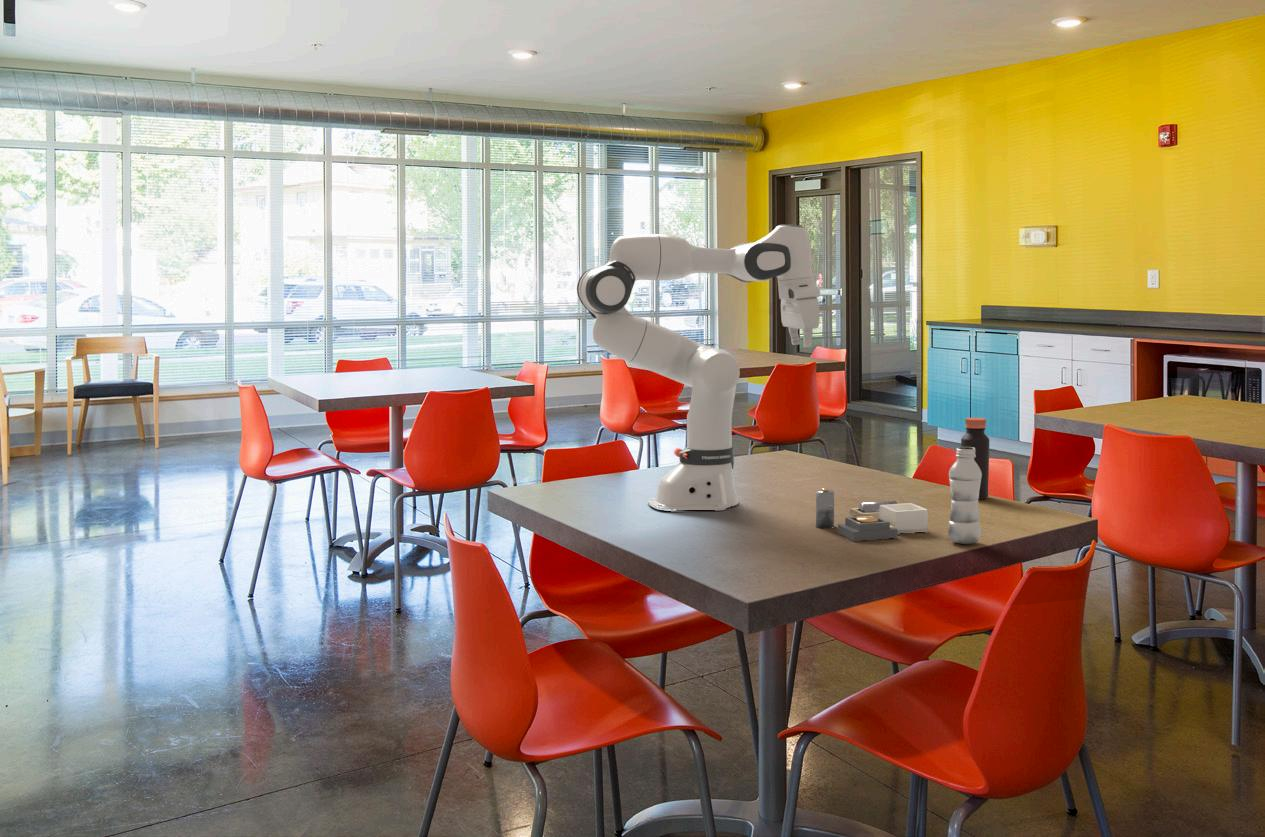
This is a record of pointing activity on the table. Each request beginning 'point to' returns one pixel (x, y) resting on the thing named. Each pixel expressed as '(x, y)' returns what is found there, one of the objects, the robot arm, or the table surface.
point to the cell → (825, 508)
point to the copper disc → (867, 519)
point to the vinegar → (978, 449)
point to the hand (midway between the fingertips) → (801, 345)
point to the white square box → (905, 517)
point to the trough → (856, 513)
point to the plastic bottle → (964, 498)
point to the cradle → (866, 530)
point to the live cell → (873, 506)
